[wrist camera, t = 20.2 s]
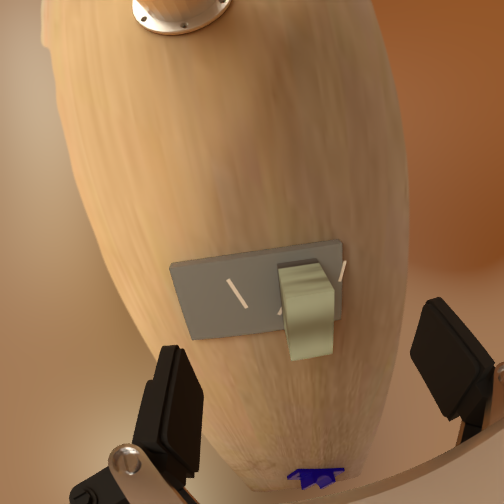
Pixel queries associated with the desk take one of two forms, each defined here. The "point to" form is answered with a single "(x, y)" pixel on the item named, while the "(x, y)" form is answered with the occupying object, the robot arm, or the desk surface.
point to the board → (246, 288)
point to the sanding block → (306, 308)
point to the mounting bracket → (315, 477)
